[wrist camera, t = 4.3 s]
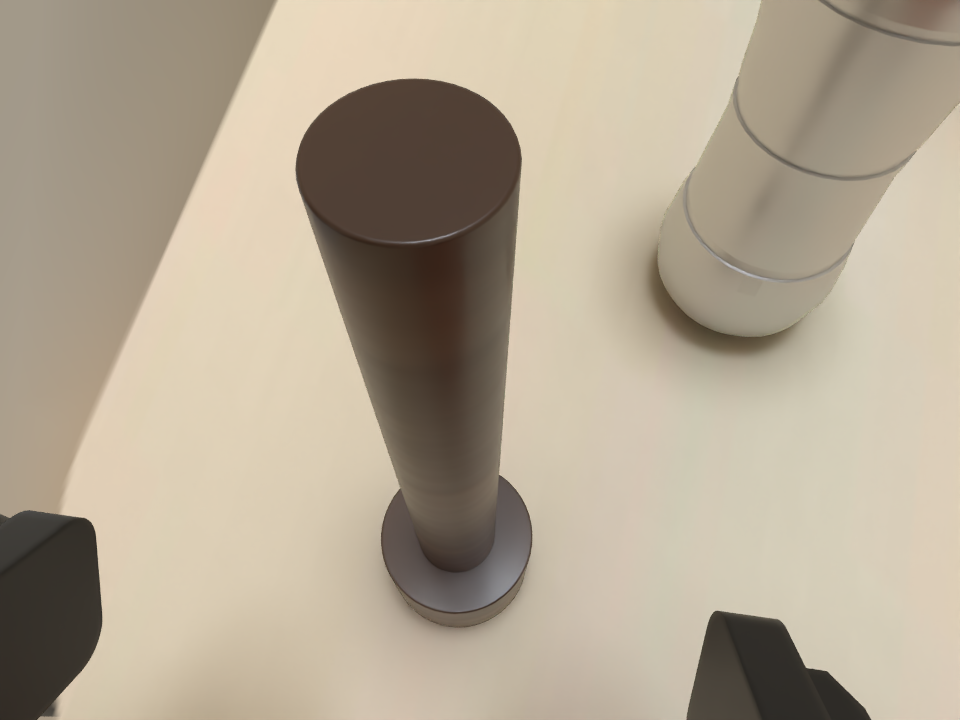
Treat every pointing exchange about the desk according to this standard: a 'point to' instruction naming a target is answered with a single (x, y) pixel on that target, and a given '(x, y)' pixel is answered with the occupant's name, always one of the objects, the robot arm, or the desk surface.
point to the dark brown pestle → (429, 323)
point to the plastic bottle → (805, 155)
